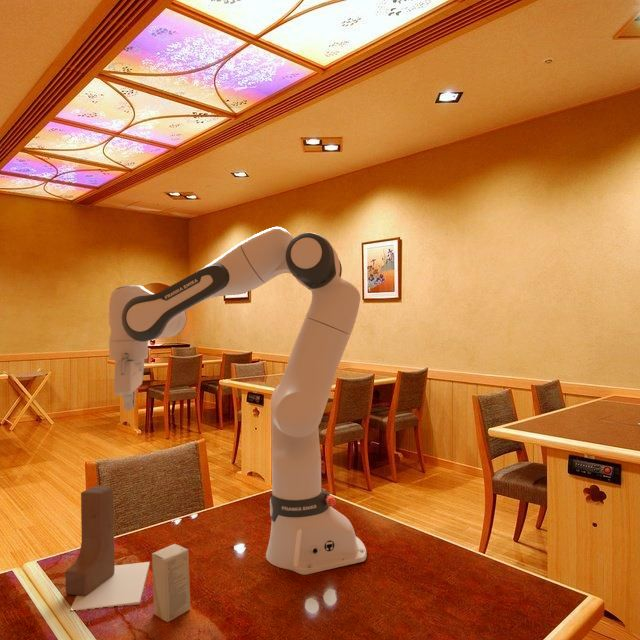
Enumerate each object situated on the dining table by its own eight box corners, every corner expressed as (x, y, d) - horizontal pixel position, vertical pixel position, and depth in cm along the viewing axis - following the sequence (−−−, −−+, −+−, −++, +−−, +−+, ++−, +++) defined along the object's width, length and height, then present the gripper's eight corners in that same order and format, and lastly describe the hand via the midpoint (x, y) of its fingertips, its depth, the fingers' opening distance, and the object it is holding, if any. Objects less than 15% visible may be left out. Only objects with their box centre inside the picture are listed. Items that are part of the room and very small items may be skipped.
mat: (149, 564, 109) (149, 561, 109) (139, 604, 94) (139, 601, 94) (90, 570, 107) (90, 568, 107) (69, 613, 91) (69, 610, 91)
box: (177, 601, 94) (176, 542, 95) (191, 609, 92) (190, 548, 92) (151, 614, 90) (150, 552, 90) (165, 623, 88) (164, 559, 88)
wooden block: (84, 597, 96) (83, 501, 96) (64, 594, 97) (63, 500, 97) (115, 574, 104) (114, 486, 104) (96, 571, 105) (95, 485, 105)
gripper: (136, 354, 114) (137, 415, 114) (147, 349, 134) (148, 401, 134) (106, 355, 113) (107, 417, 113) (122, 350, 133) (123, 403, 133)
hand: (129, 408), depth 124 cm, fingers closed
